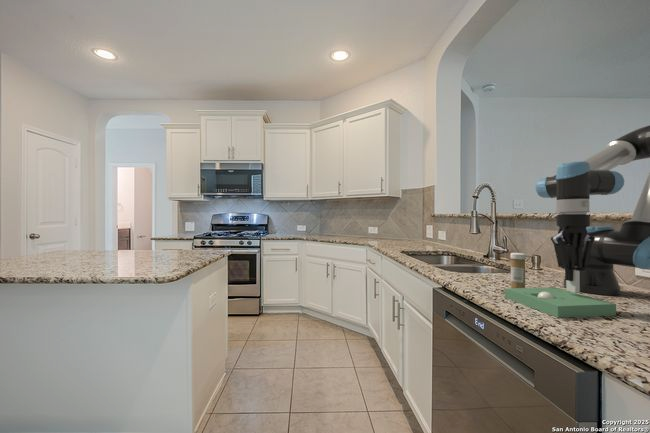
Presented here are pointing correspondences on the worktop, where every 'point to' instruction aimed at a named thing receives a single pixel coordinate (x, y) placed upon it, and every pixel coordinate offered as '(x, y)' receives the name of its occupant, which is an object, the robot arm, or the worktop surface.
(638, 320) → the worktop surface
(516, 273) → the sprinkles bottle
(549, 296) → the ball
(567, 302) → the putting board
